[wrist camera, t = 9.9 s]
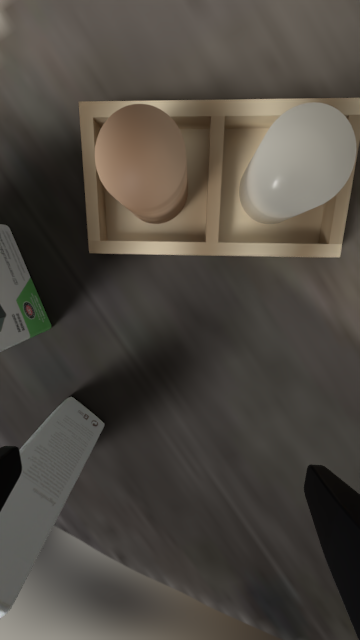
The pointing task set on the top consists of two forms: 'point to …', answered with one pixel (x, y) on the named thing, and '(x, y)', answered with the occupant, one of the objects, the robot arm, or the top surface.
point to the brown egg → (143, 162)
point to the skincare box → (42, 491)
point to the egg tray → (213, 186)
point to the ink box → (17, 296)
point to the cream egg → (298, 163)
